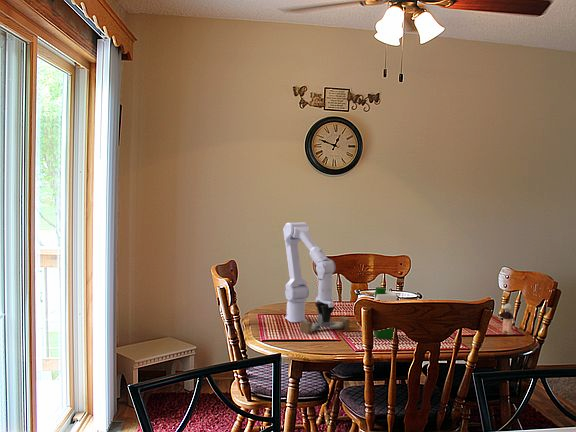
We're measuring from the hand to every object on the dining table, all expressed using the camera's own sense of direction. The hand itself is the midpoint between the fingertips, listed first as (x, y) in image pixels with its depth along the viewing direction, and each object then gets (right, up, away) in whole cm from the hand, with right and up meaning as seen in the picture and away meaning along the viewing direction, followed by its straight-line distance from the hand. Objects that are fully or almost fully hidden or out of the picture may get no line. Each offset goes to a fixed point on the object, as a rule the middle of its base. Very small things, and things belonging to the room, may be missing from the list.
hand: (324, 320), depth 246 cm
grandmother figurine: (+78, -6, +2) cm, 78 cm away
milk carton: (+24, -5, -8) cm, 26 cm away
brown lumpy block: (-6, -4, -3) cm, 8 cm away
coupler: (0, -2, 0) cm, 2 cm away
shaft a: (+6, -4, +2) cm, 8 cm away
